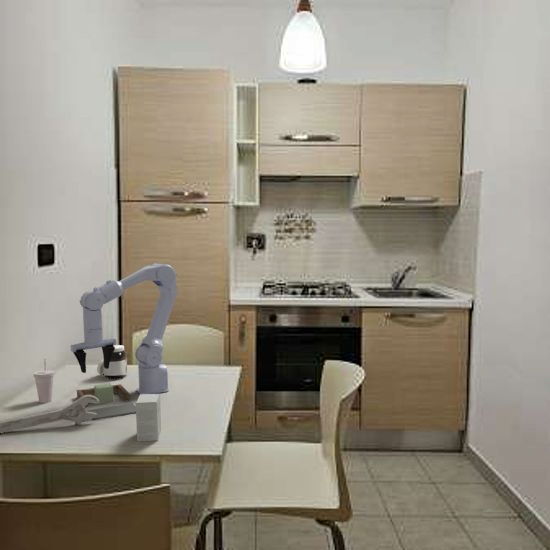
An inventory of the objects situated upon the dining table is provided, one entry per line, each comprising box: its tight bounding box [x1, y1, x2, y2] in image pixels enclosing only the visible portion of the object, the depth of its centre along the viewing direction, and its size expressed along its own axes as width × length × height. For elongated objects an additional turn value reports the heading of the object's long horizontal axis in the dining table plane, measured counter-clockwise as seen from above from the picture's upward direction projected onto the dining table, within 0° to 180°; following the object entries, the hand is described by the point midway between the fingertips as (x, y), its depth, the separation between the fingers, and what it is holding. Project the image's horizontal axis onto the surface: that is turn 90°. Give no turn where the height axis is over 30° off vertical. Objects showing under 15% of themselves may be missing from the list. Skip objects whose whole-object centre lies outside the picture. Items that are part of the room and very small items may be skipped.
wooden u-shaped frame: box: [76, 383, 130, 408], centre depth 191 cm, size 14×12×2 cm
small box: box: [135, 393, 162, 443], centre depth 155 cm, size 8×6×10 cm
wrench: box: [0, 395, 100, 434], centre depth 163 cm, size 8×2×30 cm
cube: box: [93, 382, 114, 405], centre depth 189 cm, size 5×5×5 cm
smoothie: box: [33, 358, 55, 404], centre depth 189 cm, size 6×6×14 cm
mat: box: [86, 402, 136, 421], centre depth 177 cm, size 14×9×1 cm, turn 118°
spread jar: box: [96, 344, 128, 380], centre depth 220 cm, size 12×11×12 cm
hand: (95, 370), depth 188 cm, fingers open, 7 cm apart
